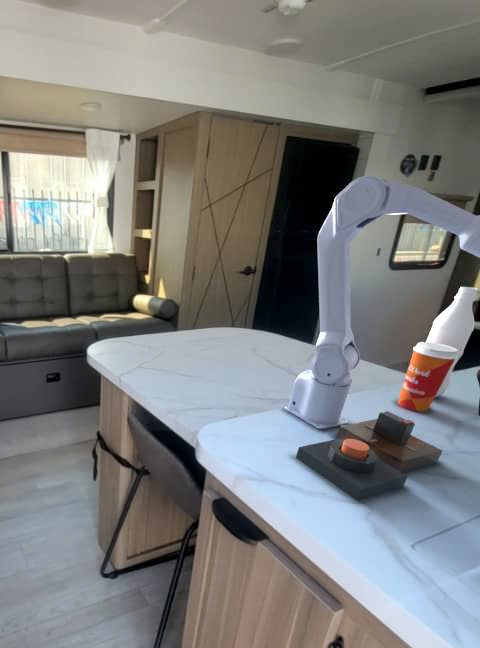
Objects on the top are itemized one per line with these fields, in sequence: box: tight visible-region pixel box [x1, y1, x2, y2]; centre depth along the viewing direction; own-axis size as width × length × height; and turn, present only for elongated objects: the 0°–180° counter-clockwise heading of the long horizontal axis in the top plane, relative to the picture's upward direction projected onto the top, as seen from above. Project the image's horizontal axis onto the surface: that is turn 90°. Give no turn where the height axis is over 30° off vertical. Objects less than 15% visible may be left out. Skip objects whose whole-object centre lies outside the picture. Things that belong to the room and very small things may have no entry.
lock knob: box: [373, 410, 416, 445], centre depth 72 cm, size 5×2×4 cm, turn 21°
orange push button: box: [341, 439, 370, 459], centre depth 65 cm, size 4×4×2 cm
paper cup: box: [397, 341, 458, 413], centre depth 88 cm, size 8×8×14 cm
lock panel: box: [336, 418, 443, 473], centre depth 73 cm, size 12×10×3 cm
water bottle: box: [425, 286, 479, 398], centre depth 92 cm, size 7×7×25 cm
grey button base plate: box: [295, 438, 408, 502], centre depth 66 cm, size 12×10×4 cm
